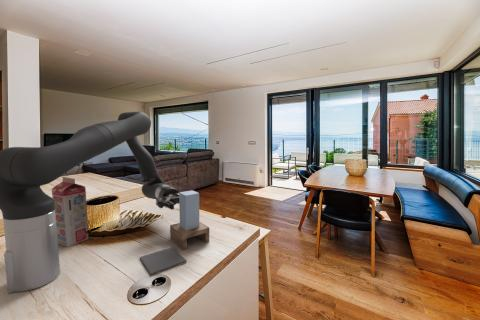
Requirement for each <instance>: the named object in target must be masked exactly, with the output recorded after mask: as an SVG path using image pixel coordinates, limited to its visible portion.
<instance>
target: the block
mask: <svg viewBox="0 0 480 320" xmlns="http://www.w3.org/2000/svg"><path fill="white" fill-rule="evenodd" d="M178 205H179V223H180V226H181V227H182V228H183V229H185V230H186V231H187V230H190V229H194V228H197V227H199V221H200V193H199V192H198V191H195V190H192V189H191V190H187V191H186V190H185V191H179V204H178Z"/></svg>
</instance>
